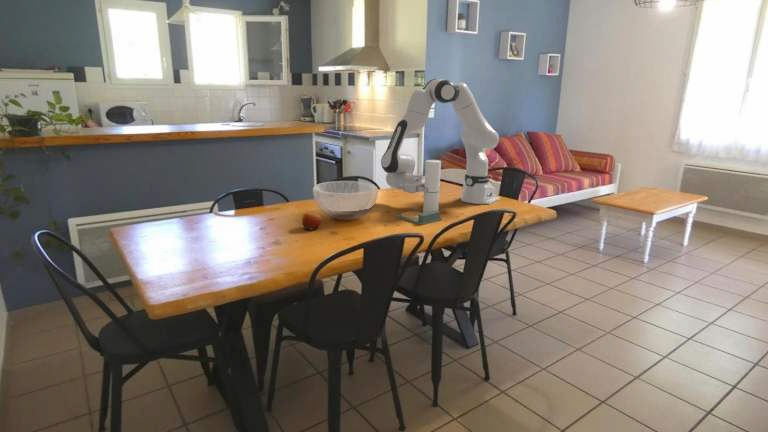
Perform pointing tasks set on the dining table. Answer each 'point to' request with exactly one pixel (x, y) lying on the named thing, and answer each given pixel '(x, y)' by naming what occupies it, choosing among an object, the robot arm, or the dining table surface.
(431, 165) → the cylindrical container
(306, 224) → the fruit
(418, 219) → the deck plate
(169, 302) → the dining table surface
